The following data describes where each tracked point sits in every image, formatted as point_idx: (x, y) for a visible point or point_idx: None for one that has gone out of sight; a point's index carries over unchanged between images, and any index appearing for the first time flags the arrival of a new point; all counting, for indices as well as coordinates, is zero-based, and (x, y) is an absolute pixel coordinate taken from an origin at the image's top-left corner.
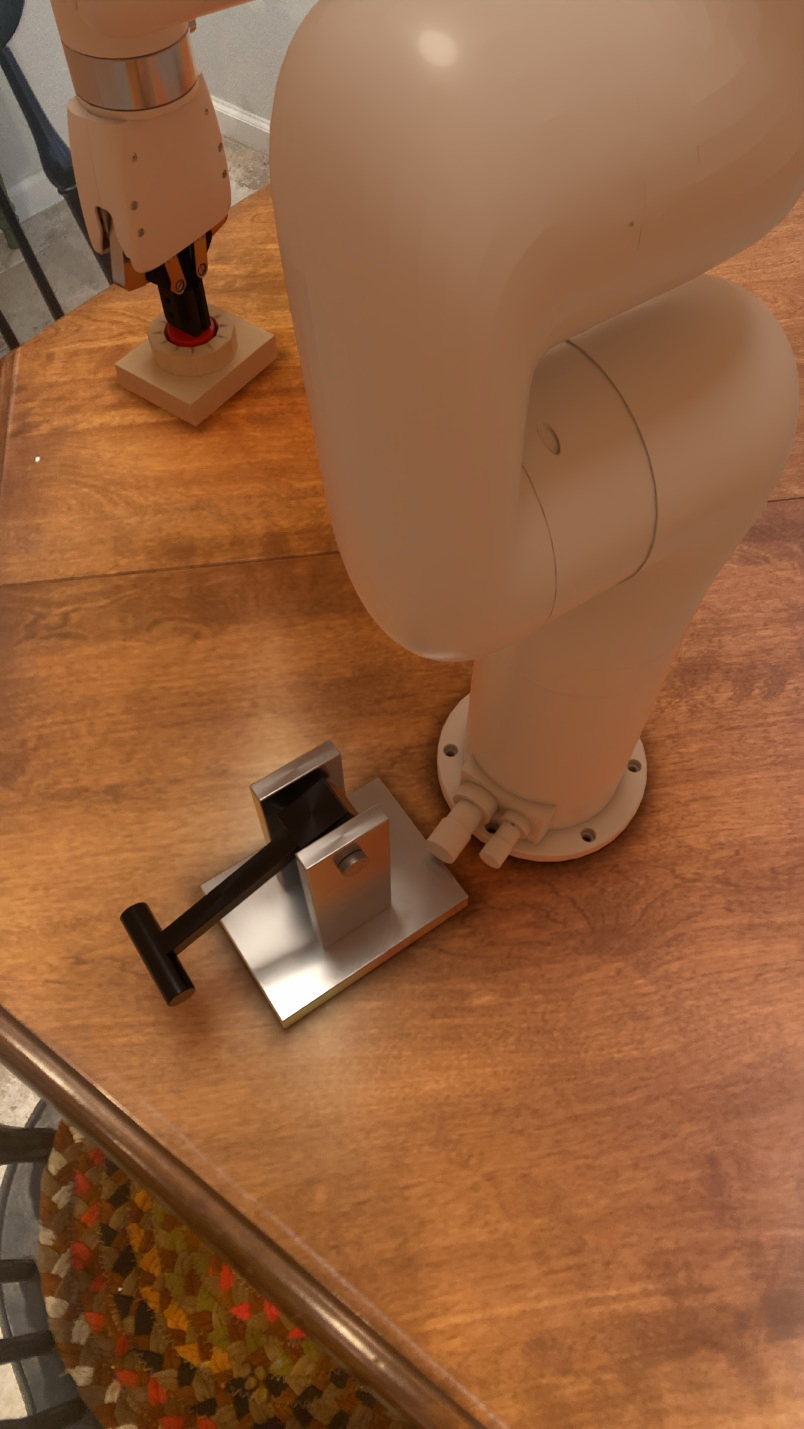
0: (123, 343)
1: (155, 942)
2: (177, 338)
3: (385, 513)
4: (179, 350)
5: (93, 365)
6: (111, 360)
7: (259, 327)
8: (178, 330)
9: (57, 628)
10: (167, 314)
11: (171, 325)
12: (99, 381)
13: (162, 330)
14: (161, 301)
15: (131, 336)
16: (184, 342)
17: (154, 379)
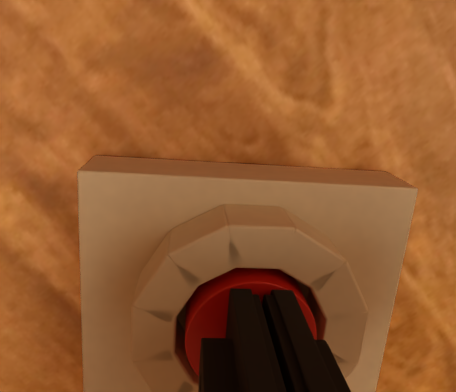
0: (222, 49)
1: None
2: (191, 345)
3: None
4: (161, 367)
5: (111, 38)
6: (153, 67)
7: (379, 368)
8: (220, 326)
9: None
10: (201, 363)
11: (227, 299)
12: (76, 95)
13: (202, 281)
14: (204, 380)
15: (255, 49)
16: (191, 364)
17: (96, 294)
